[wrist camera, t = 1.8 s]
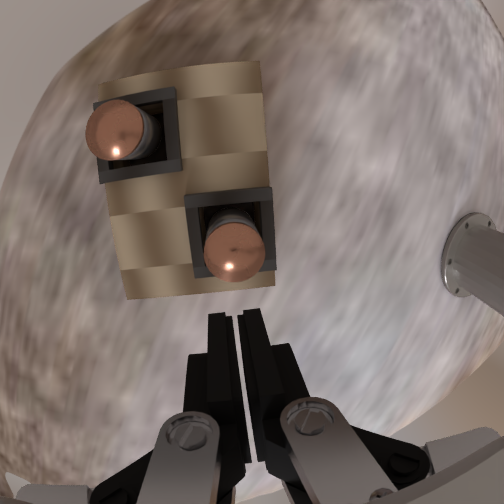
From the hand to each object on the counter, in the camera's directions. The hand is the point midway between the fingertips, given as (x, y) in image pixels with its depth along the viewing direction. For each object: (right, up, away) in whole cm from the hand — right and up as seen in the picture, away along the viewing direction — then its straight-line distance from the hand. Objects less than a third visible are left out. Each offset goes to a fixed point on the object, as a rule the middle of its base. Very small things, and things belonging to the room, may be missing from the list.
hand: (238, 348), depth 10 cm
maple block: (-6, +10, +19) cm, 22 cm away
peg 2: (-1, +5, +16) cm, 17 cm away
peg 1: (-9, +13, +13) cm, 20 cm away
